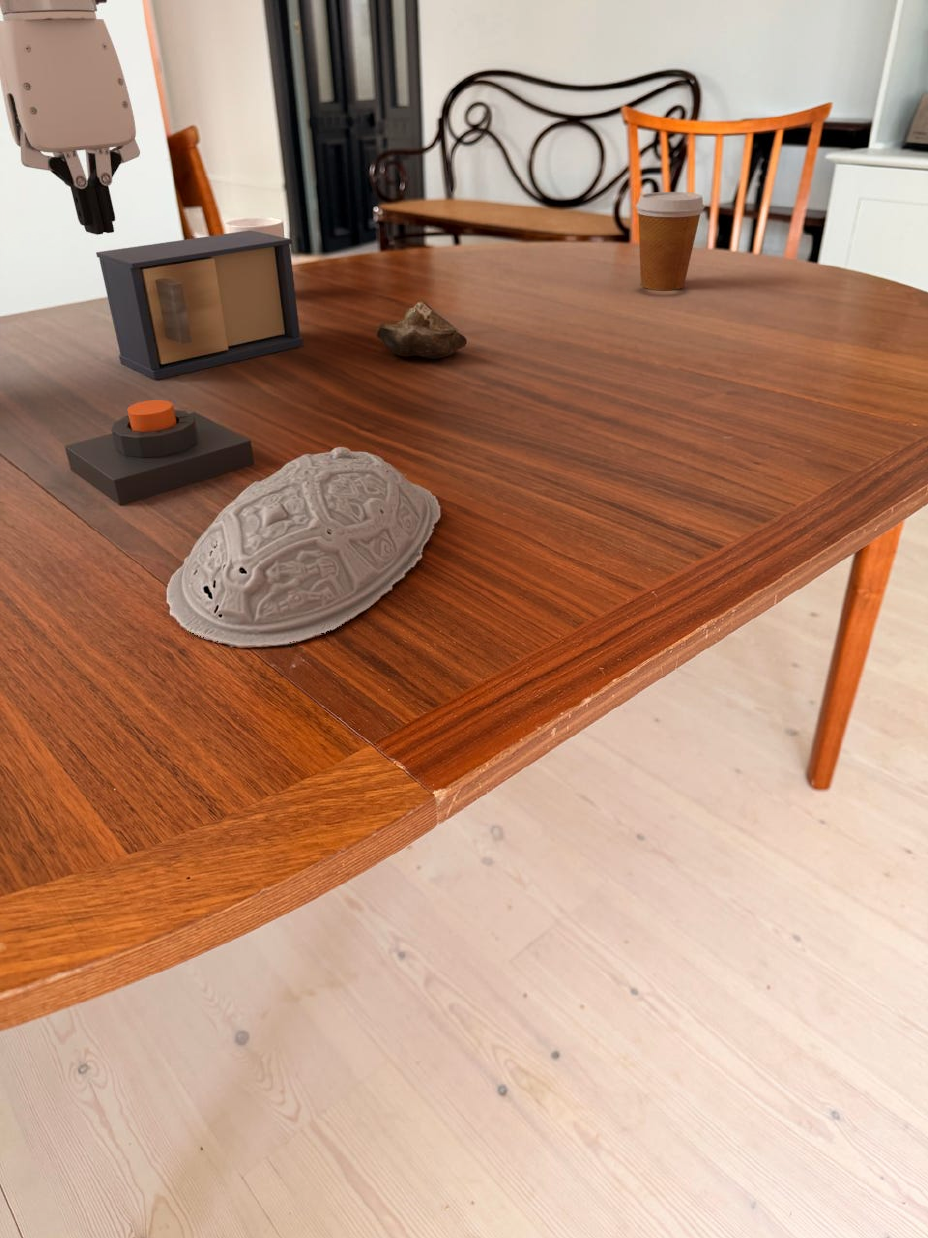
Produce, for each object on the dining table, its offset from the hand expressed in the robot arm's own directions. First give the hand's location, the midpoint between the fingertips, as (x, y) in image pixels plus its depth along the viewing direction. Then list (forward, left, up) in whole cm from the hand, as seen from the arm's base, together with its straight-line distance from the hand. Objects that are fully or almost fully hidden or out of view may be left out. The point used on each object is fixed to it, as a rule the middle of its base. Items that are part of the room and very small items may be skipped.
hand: (99, 231), depth 87 cm
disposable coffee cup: (+78, -9, -16) cm, 80 cm away
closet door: (+9, +1, -14) cm, 17 cm away
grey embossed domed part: (-6, -44, -16) cm, 47 cm away
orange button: (-7, -22, -12) cm, 26 cm away
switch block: (-7, -22, -16) cm, 28 cm away
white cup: (+33, +28, -16) cm, 46 cm away
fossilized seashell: (+30, -12, -16) cm, 36 cm away
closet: (+13, +6, -16) cm, 21 cm away
